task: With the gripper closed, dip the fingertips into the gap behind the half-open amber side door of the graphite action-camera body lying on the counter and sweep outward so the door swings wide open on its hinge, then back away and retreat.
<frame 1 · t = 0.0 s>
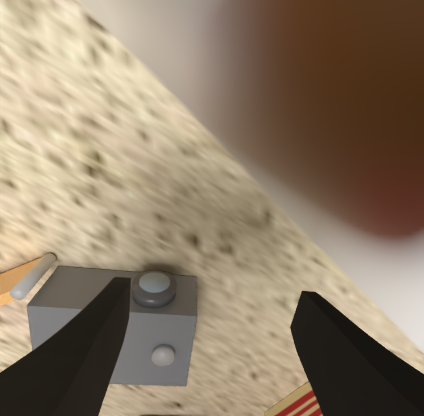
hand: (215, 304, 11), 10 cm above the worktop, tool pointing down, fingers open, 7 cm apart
camera body: (128, 305, 23), on the worktop
milk carton: (320, 404, 31), on the worktop
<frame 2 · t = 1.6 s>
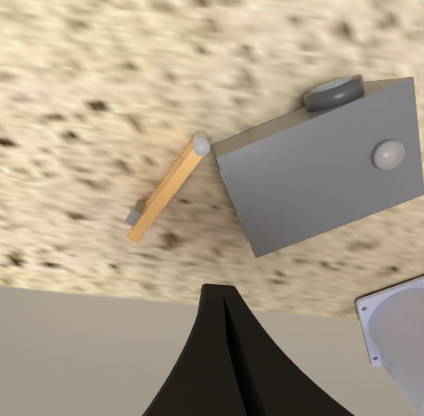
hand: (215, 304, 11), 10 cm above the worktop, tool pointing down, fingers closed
camera body: (298, 161, 20), on the worktop
side door: (166, 181, 18), point 2 cm above the worktop, hinge at 60.0°
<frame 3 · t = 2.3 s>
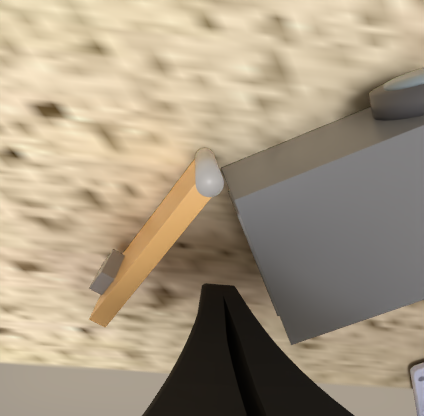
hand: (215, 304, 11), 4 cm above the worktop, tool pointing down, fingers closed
camera body: (346, 189, 14), on the worktop
side door: (153, 226, 11), point 2 cm above the worktop, hinge at 60.0°
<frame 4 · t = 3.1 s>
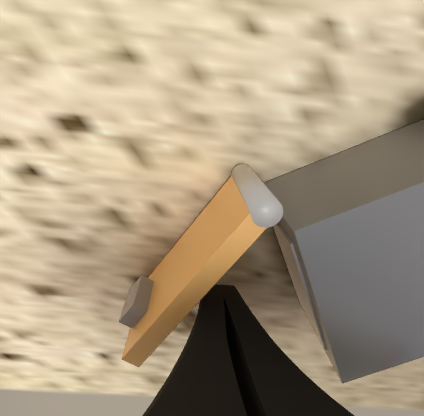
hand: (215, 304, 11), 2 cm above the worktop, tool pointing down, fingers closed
camera body: (392, 206, 13), on the worktop
side door: (189, 253, 10), point 2 cm above the worktop, hinge at 60.0°, touching gripper
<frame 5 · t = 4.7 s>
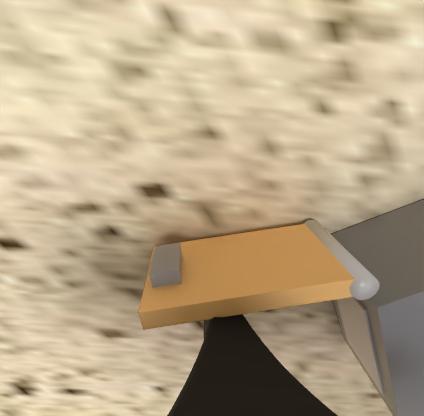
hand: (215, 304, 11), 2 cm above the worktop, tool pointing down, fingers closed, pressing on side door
side door: (247, 260, 10), point 2 cm above the worktop, hinge at 104.6°, touching gripper
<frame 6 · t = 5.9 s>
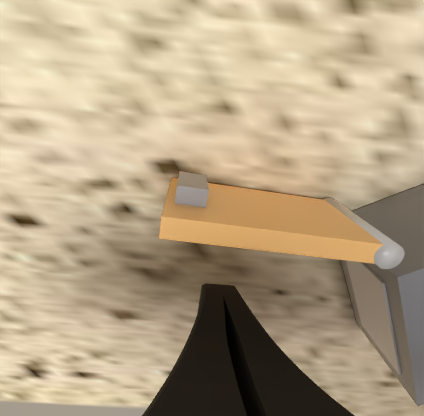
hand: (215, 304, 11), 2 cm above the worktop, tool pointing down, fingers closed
side door: (271, 210, 10), point 2 cm above the worktop, hinge at 121.5°
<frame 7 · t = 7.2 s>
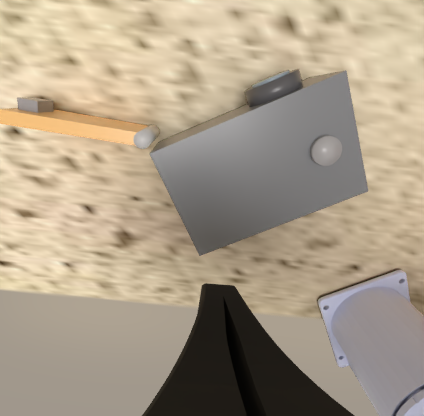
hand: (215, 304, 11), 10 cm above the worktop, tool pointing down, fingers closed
camera body: (249, 157, 20), on the worktop
side door: (90, 121, 16), point 2 cm above the worktop, hinge at 121.8°
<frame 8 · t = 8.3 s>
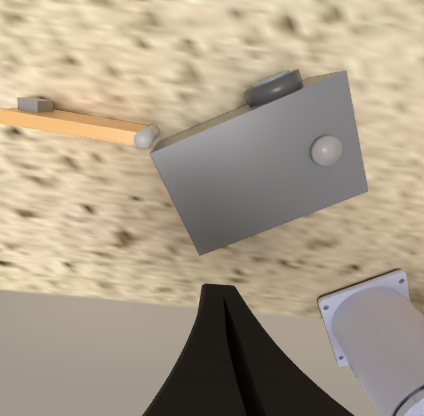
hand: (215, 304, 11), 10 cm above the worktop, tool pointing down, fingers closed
camera body: (249, 157, 20), on the worktop
side door: (90, 121, 16), point 2 cm above the worktop, hinge at 121.8°
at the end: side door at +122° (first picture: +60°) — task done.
